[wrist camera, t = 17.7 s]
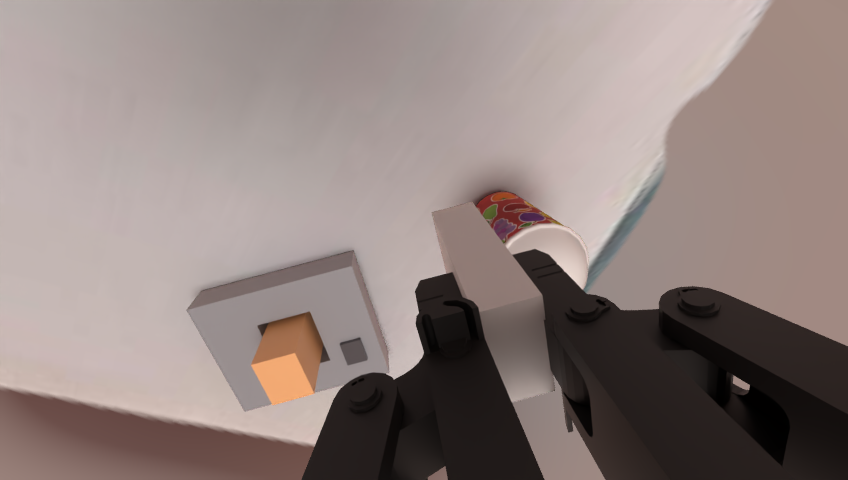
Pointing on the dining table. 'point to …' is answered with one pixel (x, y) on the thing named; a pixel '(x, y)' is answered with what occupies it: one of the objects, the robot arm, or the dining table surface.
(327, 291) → the socket box
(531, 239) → the smoothie
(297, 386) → the plug
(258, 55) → the dining table surface
